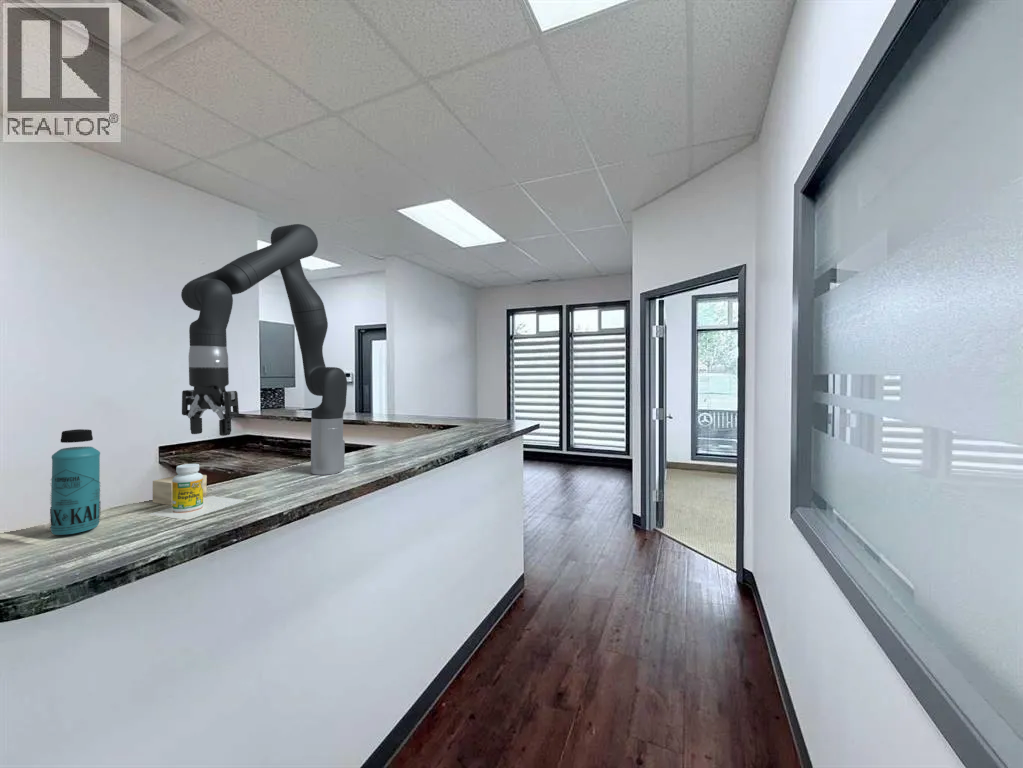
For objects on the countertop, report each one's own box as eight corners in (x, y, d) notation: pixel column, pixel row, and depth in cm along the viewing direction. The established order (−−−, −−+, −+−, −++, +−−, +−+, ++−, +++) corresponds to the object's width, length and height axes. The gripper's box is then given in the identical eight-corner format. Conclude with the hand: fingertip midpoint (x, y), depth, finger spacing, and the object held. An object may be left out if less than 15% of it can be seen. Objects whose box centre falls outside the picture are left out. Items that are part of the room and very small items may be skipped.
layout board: (211, 499, 101) (211, 495, 101) (247, 503, 98) (247, 500, 98) (147, 518, 87) (147, 514, 87) (187, 523, 84) (187, 519, 84)
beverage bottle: (53, 535, 77) (53, 428, 77) (103, 527, 81) (103, 426, 81) (45, 546, 72) (45, 433, 72) (99, 537, 76) (99, 430, 76)
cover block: (188, 497, 103) (188, 473, 103) (206, 499, 101) (206, 475, 101) (152, 506, 95) (152, 480, 95) (171, 509, 93) (171, 483, 93)
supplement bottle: (201, 503, 95) (201, 461, 95) (204, 509, 91) (205, 465, 91) (170, 508, 91) (171, 464, 91) (173, 514, 87) (173, 469, 87)
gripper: (247, 366, 99) (248, 433, 99) (201, 365, 102) (202, 430, 103) (218, 366, 91) (219, 438, 92) (169, 365, 95) (171, 435, 96)
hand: (210, 434), depth 97 cm, fingers open, 8 cm apart
